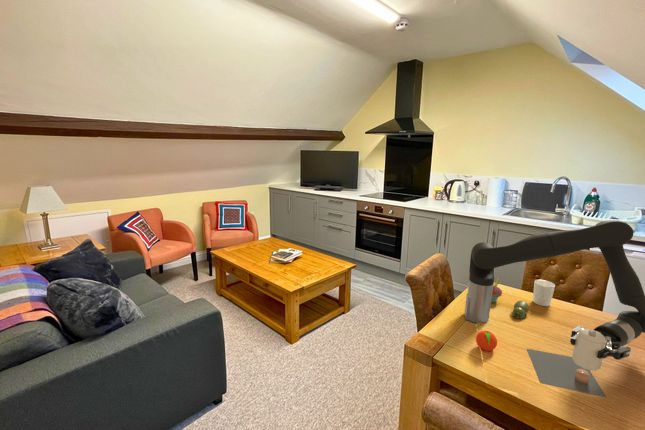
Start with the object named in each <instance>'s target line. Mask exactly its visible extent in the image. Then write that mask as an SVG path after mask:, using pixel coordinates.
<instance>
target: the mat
mask: <svg viewBox="0 0 645 430" xmlns="http://www.w3.org/2000/svg"><path fill="white" fill-rule="evenodd" d="M525 349H526V351H527V354H528V356H529V358H530V361H531V363H532V366H533V368H534V370H535V374H536V376H537V379H538V381H539V383H540V384H544V385H548V386H553V387H557V388H562V389H567V390H571V391H574V392H575V391H576V392H581V393H584V394H585V393H586V394H589V395H594V396H598V397H604V398H607V395H606V393H605V392H604V390H603V389H602V387H601V385H600V384H599V382H598V381H597V380H596V378H595V376H594V375H593V373H592V372H591V371H592V370H588V369H584V368H582V367H580V366H579V365H577V364H575V362H574V361H573V359H572V356H569V355H563V354H557V353H552V352H547V351H544V350H543V351H541V350H537V349H532V348H525ZM577 369H583V370H585V371H587V372H588V373H589V374H590V378H589V382H588V384H587V385H584V384H580V383H578V382H577V381H576V380H575V374H576V370H577Z"/></svg>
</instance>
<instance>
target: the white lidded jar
mask: <svg viewBox="0 0 645 430" xmlns="http://www.w3.org/2000/svg"><path fill="white" fill-rule="evenodd" d="M593 330H594V329H589V328H583V329H580V330H579V331H578V333H577V336H576V341H575V345H573V346H574V347H573V350H572V351H573V352H572V356H571V357H572V359H573V361H574V362H575V364H577V365H579V366H580V367H582V368H584V369H588V370H590V371H594V372H597V371H598V370H600V369H601V367H602V364H603V363H602V362H603V359H604V358H601V359H599V358H597V354H598V351H600V350H602V349H604V348H605V346H606V341H605V340H606V338H605V337H604V336H603V335H602V334H600V333H598V332H596V331H593Z"/></svg>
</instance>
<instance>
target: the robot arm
mask: <svg viewBox="0 0 645 430" xmlns="http://www.w3.org/2000/svg"><path fill="white" fill-rule="evenodd" d="M633 237H634V229H633V228H632V226H631V225H629V223H627V222H624V221H621V220H618V219H617V220H615V219H612V220H610V219H609V220H604V221H603V220H602V221H600V222H598V223H596V224H595V225H593V226H588V227H585V228H579V229H570V230H569V229H568V230H567V229H566V230H555V231H547V232H543V233H539V234H534V235H530V236H527V237H525V238H523V239H520V240H519V241H517V242H514V243H512V244H508V245H505V246H504V245H502V246H497V247H494V246H493V245H491V244H490V243H488V242H479V243H478V242H477V243H476V244H475V245H474V246H473V247H472V249H471V253H470V259H469V260H470V261H469V271H468V272H469V276H468V277H469V278H468V286H467V293H466V296H465V305H464V319H465V320H467V321H469V322H471V323H474V324H485V323H489V319H490V315H491V314H490V312H491V304H492V302H491V299H492V291H493V285H495V271H494V270H495V269H496V268H499V267H505V266H506V265H512V264H516V263H521V262H529V261H533V260H540V259H541V260H542V259H547V258H554V257H559V256H563V255H567V254H572V253H576V252H579V251H583V250H588V249H597V248H598V249H600V252H601V254H602V256H603V259H604V260H605V263H606V266H607V269H608V271H609V273H610V276H611V279H612V283H613V285H614V289H615V293H616V296H617V298H618V300H619V303H620V304H622V305H624V306H629V307H632V308H635V310H623V311H621V312H619V314H618V316H617V317H616V318H615V319H613V320H609V321H607V322H605V323H603V324H600V325H598V326H596V327H594V328H593V329H592V330H593V331H596V332H598V333H600V334H602V335H603V336H604V337H605V338H606V340H605V341H606V346H605V348H604V349H602V350H600V351H598V354H597V358H599V359H601V358H603V359H606V358H610V357H611V358H612V357H613V358H614V360H616V361H620V360H622V359H624V358H627V357H630V354H631V349H632V348H631V347H630V346H626V345H628V344H630V343H631V342H632V341H633V340H635V339H637V338H639V337H640V336H641V334H642V333H644V334H645V291H644V289H643V286H642V284H641V281H640V279H639V276H638V275H637V273H636V271H635V269H634V268H633V265H631V263H630V261H629V259H628V257H627V255H626V252H625V249H624V245H625V244H627V243H629V242H631V240H632V239H633ZM636 310H637V311H636ZM580 329H584V326H583V325H577V326H576V327H575V328H573V329H571V334H570V340H569V342H570V345H572V346H575V341H576V336H577V333H578V331H579V330H580Z"/></svg>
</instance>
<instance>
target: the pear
mask: <svg viewBox="0 0 645 430" xmlns="http://www.w3.org/2000/svg"><path fill="white" fill-rule="evenodd" d="M529 311H530V306H529V304H528V303H527V302H526V301H524V300H518V301H516V302H515V303H514V305H513V309H512V312H511V314H512V317H514V318H516V319H519V320H522V319H524V318H525V316H526V315H525V314H528V312H529Z"/></svg>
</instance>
